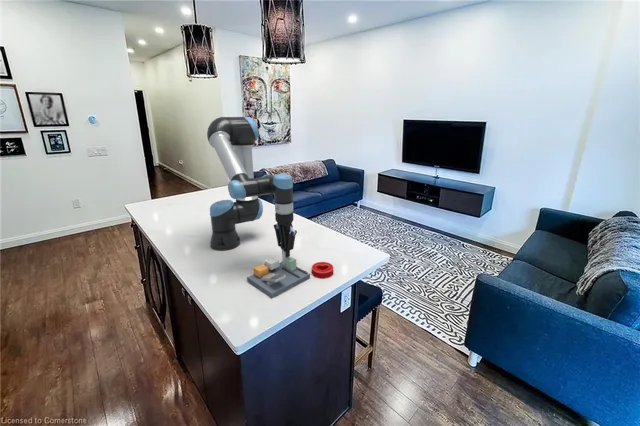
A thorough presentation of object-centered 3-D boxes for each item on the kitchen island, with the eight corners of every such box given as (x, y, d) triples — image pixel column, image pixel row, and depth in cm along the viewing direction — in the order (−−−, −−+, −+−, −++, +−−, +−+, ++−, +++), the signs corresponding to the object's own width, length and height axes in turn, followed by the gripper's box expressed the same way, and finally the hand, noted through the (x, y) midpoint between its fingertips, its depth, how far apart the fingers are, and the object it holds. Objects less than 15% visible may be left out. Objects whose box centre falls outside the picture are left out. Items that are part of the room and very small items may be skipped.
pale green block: (286, 269, 128) (285, 259, 126) (291, 266, 130) (291, 257, 128) (291, 271, 126) (290, 262, 124) (296, 268, 128) (296, 259, 126)
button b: (265, 266, 127) (264, 260, 126) (273, 262, 130) (273, 257, 129) (271, 270, 124) (271, 264, 123) (279, 266, 127) (279, 260, 126)
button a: (253, 273, 123) (253, 267, 122) (262, 269, 126) (261, 264, 125) (259, 277, 120) (259, 271, 119) (268, 273, 123) (268, 267, 122)
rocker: (261, 280, 119) (260, 277, 119) (271, 275, 122) (270, 272, 122) (275, 282, 112) (274, 279, 111) (285, 277, 115) (285, 274, 115)
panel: (247, 281, 122) (246, 273, 121) (284, 264, 136) (284, 257, 135) (272, 298, 111) (271, 289, 110) (309, 278, 125) (309, 270, 124)
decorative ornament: (316, 280, 124) (316, 274, 123) (308, 270, 132) (308, 263, 131) (337, 276, 127) (337, 269, 126) (327, 265, 136) (327, 259, 135)
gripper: (267, 210, 124) (270, 260, 131) (287, 217, 115) (289, 271, 122) (281, 206, 129) (283, 255, 136) (301, 213, 120) (302, 264, 128)
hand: (286, 262), depth 129 cm, fingers closed
